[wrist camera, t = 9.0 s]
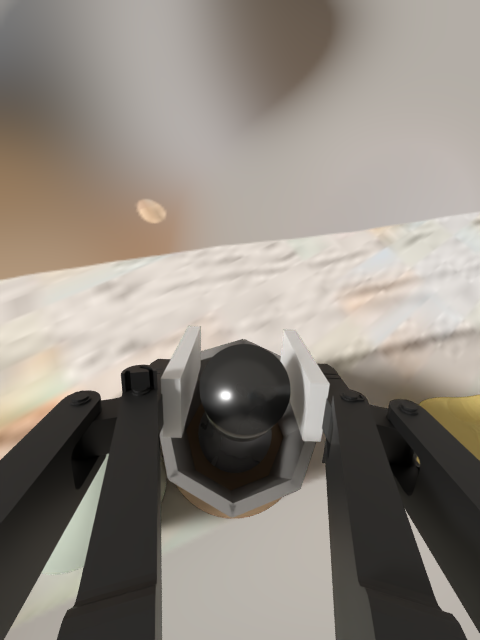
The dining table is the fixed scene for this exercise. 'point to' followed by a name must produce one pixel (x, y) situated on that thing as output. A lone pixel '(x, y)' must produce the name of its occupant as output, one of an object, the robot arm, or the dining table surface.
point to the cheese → (458, 419)
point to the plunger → (241, 406)
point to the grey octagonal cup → (236, 488)
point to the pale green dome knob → (83, 527)
